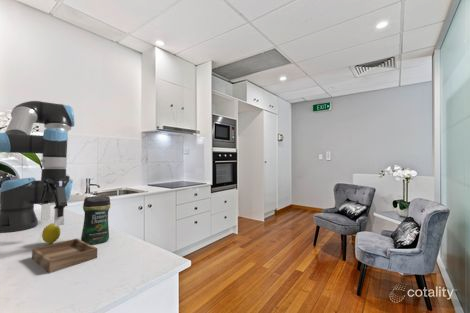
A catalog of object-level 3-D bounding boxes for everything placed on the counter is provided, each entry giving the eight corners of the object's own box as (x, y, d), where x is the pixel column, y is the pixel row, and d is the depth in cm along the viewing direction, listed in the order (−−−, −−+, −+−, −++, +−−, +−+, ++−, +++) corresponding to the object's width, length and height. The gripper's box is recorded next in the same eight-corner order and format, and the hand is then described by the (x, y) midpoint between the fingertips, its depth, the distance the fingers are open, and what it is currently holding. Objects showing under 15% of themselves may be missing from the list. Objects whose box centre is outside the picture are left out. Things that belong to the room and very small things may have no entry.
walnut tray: (31, 258, 74) (32, 249, 74) (76, 246, 85) (76, 238, 85) (49, 273, 65) (50, 262, 66) (97, 257, 76) (97, 248, 76)
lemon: (44, 247, 84) (45, 226, 84) (39, 244, 87) (40, 223, 87) (62, 243, 88) (63, 223, 88) (56, 240, 91) (57, 220, 91)
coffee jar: (82, 247, 85) (84, 198, 85) (79, 241, 91) (81, 195, 91) (111, 242, 91) (112, 196, 92) (106, 236, 97) (108, 193, 97)
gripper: (31, 167, 92) (28, 219, 91) (54, 168, 78) (52, 230, 77) (53, 167, 98) (51, 216, 97) (79, 168, 84) (76, 225, 84)
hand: (51, 222), depth 87 cm, fingers open, 13 cm apart
